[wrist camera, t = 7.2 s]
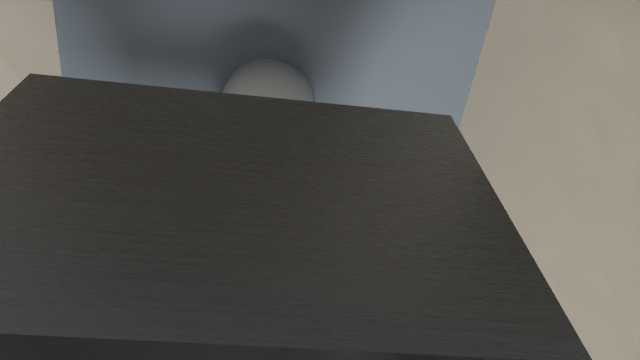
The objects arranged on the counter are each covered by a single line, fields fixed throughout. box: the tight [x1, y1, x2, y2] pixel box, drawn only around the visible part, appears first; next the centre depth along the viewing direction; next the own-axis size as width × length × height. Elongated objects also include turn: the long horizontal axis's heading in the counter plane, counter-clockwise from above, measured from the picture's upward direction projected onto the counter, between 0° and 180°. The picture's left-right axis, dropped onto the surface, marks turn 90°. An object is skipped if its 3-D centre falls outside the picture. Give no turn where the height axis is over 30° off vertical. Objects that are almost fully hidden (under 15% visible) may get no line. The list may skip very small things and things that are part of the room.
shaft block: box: [53, 0, 496, 128], centre depth 16 cm, size 12×12×7 cm
